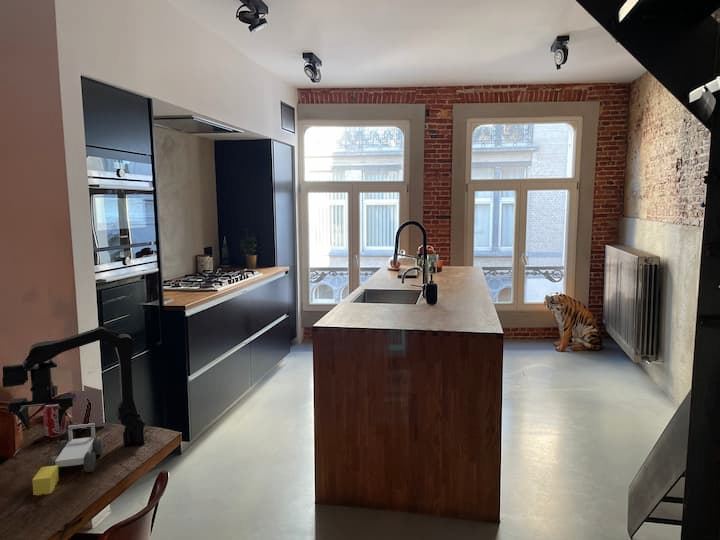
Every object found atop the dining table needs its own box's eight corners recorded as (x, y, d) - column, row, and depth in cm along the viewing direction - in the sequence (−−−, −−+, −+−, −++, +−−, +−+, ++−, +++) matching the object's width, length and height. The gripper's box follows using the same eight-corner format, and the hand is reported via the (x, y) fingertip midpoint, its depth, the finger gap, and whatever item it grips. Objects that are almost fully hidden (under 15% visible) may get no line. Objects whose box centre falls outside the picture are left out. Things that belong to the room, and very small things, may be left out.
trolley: (64, 454, 175) (62, 425, 174) (103, 449, 178) (102, 421, 177) (47, 480, 158) (45, 448, 157) (91, 475, 161) (89, 443, 160)
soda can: (70, 430, 194) (68, 400, 193) (58, 438, 187) (56, 407, 186) (53, 430, 195) (51, 399, 194) (40, 438, 188) (38, 406, 187)
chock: (59, 480, 158) (57, 465, 158) (50, 493, 150) (49, 477, 150) (42, 482, 157) (41, 467, 156) (33, 496, 149) (32, 479, 149)
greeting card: (106, 426, 198) (103, 389, 197) (87, 433, 192) (85, 395, 190) (87, 421, 204) (85, 384, 202) (69, 427, 197) (67, 390, 196)
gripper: (79, 372, 176) (82, 415, 178) (18, 376, 172) (21, 421, 173) (70, 382, 166) (73, 428, 167) (4, 387, 161) (8, 435, 163)
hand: (44, 427), depth 168 cm, fingers open, 9 cm apart
